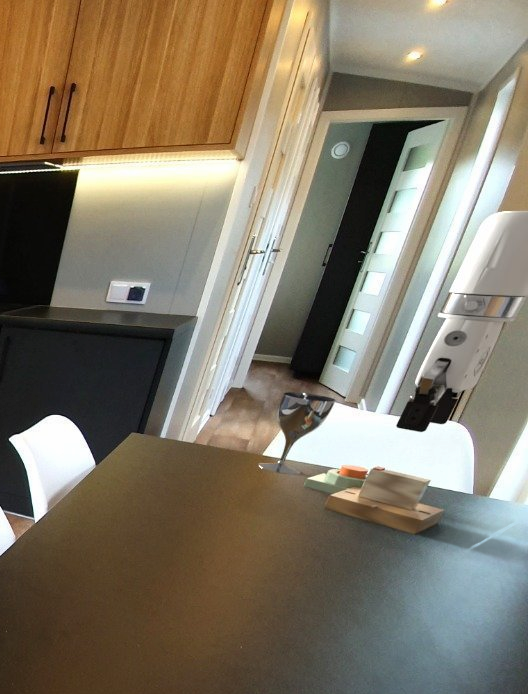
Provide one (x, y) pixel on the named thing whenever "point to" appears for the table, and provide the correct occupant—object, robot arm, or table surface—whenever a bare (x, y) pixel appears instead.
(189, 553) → the table surface
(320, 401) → the wine glass
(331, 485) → the button box
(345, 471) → the button
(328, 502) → the holder base
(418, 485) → the holder
